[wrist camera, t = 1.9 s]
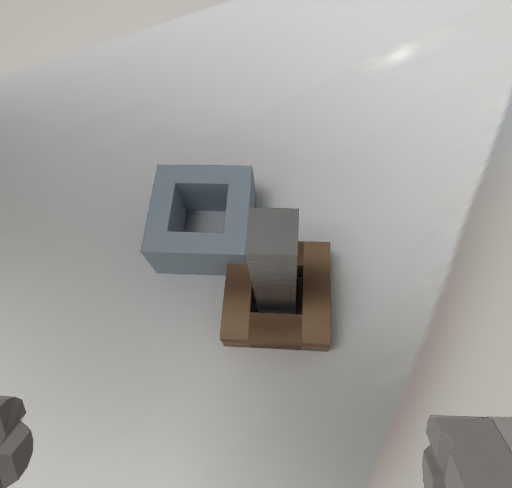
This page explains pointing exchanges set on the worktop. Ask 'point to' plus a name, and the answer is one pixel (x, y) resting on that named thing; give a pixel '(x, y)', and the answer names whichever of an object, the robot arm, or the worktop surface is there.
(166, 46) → the worktop surface
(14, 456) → the robot arm
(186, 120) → the worktop surface
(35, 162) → the worktop surface
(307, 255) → the socket block
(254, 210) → the tall brushed metal pillar
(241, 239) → the block
